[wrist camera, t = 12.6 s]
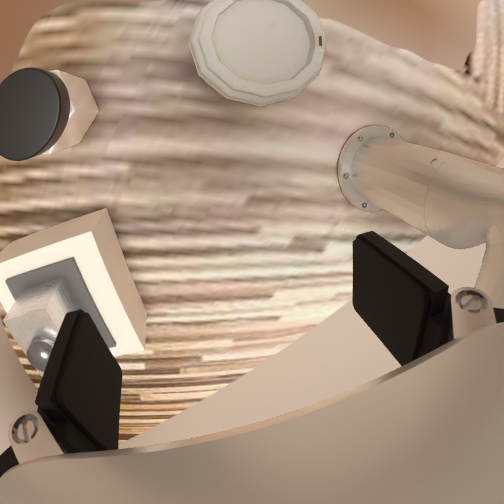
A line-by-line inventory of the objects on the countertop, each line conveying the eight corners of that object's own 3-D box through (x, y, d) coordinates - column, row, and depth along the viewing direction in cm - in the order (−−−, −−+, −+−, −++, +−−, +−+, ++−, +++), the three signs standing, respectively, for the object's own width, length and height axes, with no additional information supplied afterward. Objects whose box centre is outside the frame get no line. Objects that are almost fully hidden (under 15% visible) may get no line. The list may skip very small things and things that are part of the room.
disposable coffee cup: (185, 112, 32) (191, 108, 19) (183, 27, 27) (190, -26, 14) (274, 108, 34) (334, 108, 21) (273, 27, 29) (329, -14, 16)
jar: (61, 65, 25) (16, 49, 15) (111, 95, 29) (81, 86, 18) (24, 129, 27) (-29, 141, 17) (71, 160, 31) (30, 182, 20)
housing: (63, 276, 28) (40, 317, 21) (97, 340, 32) (88, 386, 25) (23, 289, 27) (-3, 329, 20) (58, 348, 31) (45, 392, 25)
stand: (106, 207, 34) (89, 233, 27) (147, 312, 42) (144, 353, 34) (10, 242, 32) (-19, 272, 25) (57, 333, 39) (43, 372, 32)
